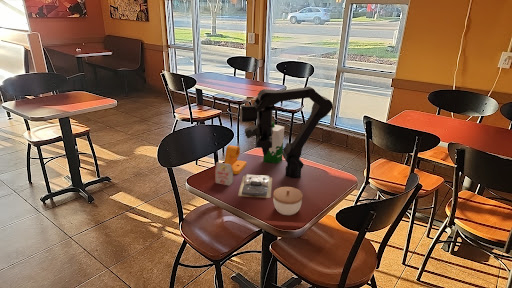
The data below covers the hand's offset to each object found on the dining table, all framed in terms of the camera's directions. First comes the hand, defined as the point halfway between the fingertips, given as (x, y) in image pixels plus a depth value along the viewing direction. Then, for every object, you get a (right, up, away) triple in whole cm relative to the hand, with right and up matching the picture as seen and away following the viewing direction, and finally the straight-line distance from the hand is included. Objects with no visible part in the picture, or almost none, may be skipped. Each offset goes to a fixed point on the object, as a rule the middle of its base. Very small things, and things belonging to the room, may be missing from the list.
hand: (264, 155), depth 141 cm
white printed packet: (-18, -13, 0) cm, 22 cm away
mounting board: (-4, -14, -3) cm, 15 cm away
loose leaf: (-4, -14, -7) cm, 16 cm away
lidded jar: (+8, -21, -19) cm, 29 cm away
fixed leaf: (-3, -12, 0) cm, 12 cm away
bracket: (-13, -8, +13) cm, 20 cm away
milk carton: (+5, -4, +22) cm, 23 cm away
